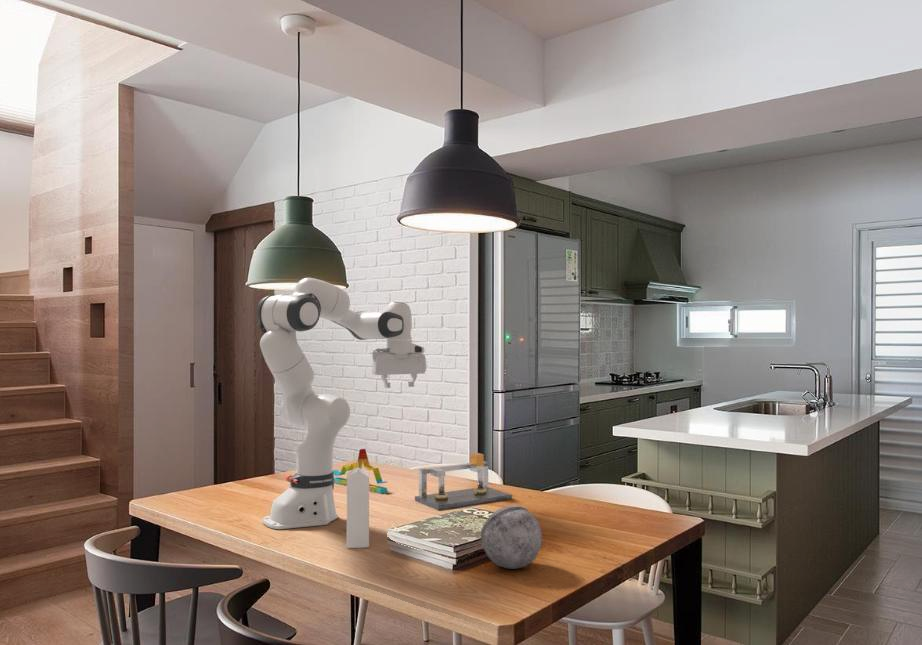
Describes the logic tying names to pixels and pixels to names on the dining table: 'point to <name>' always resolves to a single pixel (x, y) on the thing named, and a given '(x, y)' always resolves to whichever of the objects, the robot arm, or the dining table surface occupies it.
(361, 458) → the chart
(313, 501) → the robot arm
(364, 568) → the dining table surface
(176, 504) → the dining table surface
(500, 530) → the decorative orb
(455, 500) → the plate
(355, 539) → the milk
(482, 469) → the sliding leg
